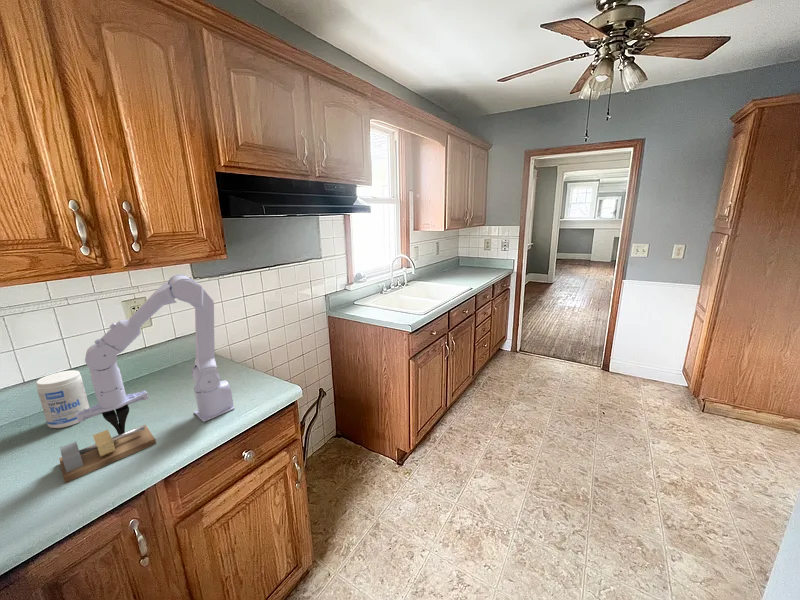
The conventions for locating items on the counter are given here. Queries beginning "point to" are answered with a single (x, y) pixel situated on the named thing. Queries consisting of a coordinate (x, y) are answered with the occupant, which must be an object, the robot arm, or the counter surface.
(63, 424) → the supplement tub
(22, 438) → the counter surface
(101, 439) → the nut
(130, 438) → the base
